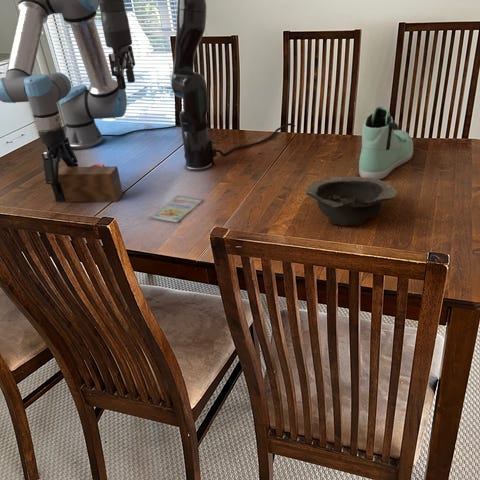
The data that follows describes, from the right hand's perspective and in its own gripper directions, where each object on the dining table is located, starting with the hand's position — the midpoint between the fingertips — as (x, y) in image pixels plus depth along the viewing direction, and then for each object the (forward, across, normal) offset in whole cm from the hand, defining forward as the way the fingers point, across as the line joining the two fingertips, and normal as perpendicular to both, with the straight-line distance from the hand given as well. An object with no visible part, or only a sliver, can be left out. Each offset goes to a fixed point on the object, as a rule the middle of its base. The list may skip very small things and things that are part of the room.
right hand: (127, 85), depth 146 cm
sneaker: (+33, +16, -81) cm, 89 cm away
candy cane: (+33, +9, +24) cm, 42 cm away
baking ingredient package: (+33, -18, -16) cm, 41 cm away
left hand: (+32, -9, +23) cm, 40 cm away
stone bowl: (+33, -20, -66) cm, 77 cm away
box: (+33, -9, +16) cm, 38 cm away
